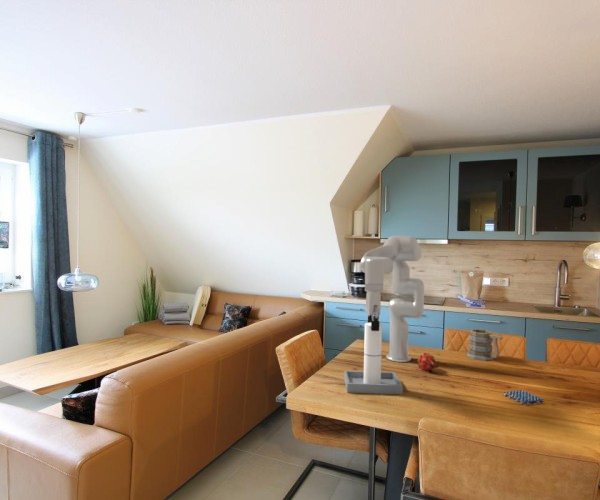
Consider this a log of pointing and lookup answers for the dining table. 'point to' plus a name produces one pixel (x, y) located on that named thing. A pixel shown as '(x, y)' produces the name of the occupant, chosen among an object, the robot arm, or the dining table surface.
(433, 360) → the dragon fruit
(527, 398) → the woven mat
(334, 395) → the dining table surface
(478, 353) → the tankard
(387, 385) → the tray
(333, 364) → the dining table surface
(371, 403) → the dining table surface
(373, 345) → the cylindrical container
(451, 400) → the dining table surface
